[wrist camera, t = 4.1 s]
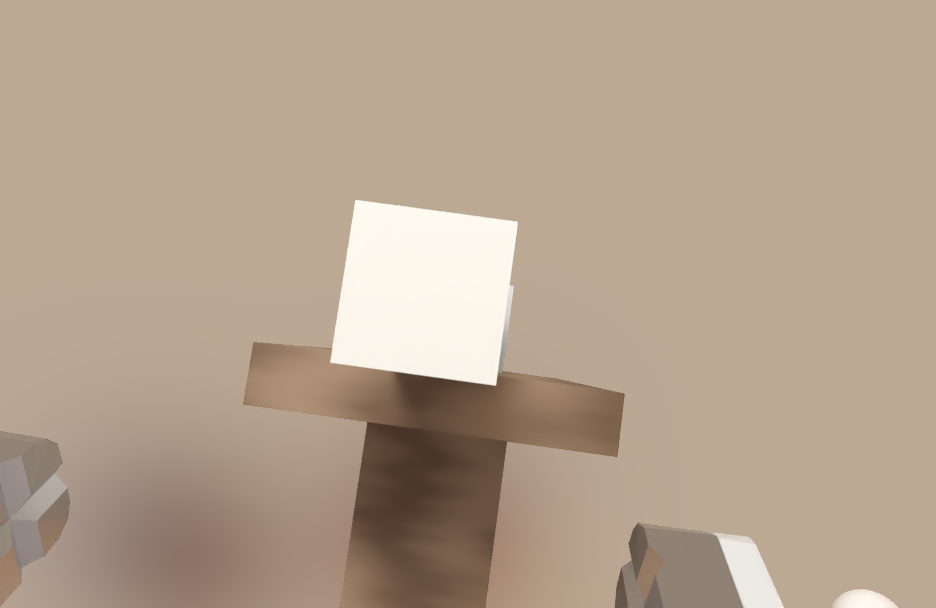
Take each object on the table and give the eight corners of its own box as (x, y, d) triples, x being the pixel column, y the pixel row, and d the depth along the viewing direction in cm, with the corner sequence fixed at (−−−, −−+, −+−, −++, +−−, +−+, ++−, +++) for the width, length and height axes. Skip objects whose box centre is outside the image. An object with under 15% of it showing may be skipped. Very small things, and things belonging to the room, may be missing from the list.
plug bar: (497, 371, 34) (507, 296, 34) (551, 393, 11) (578, 176, 12) (404, 358, 34) (415, 284, 34) (275, 355, 11) (310, 140, 12)
